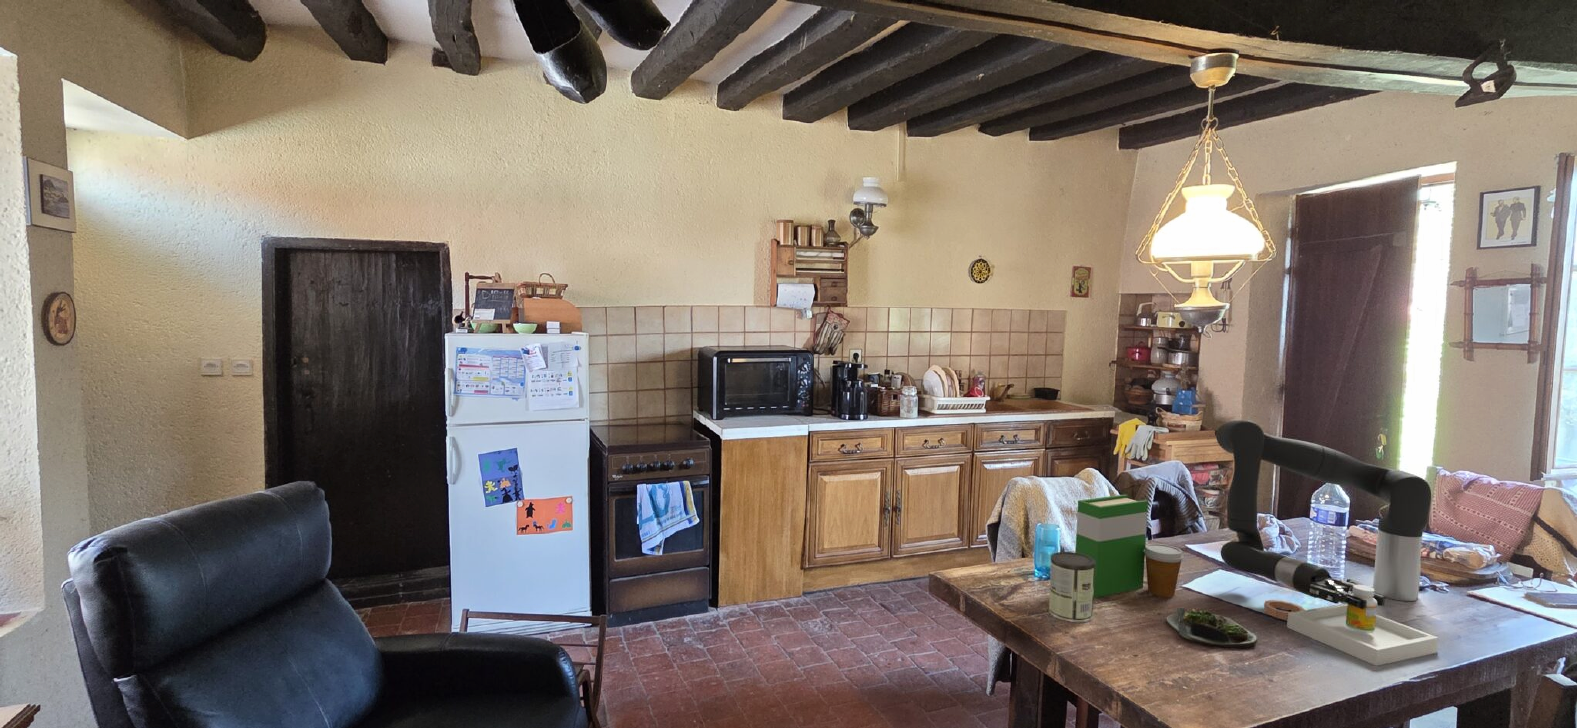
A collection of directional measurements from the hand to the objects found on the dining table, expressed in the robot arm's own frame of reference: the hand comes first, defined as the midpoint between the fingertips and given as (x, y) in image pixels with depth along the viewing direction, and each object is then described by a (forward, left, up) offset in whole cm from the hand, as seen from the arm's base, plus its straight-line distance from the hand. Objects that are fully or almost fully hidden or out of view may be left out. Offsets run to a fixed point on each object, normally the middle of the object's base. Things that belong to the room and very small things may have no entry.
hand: (1374, 603), depth 170 cm
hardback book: (+33, -46, -10) cm, 57 cm away
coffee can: (+55, -34, -10) cm, 66 cm away
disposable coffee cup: (+22, -39, -10) cm, 45 cm away
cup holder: (+3, -19, -10) cm, 21 cm away
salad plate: (+31, -16, -10) cm, 36 cm away
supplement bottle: (0, -3, -7) cm, 8 cm away
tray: (0, -2, -10) cm, 10 cm away
